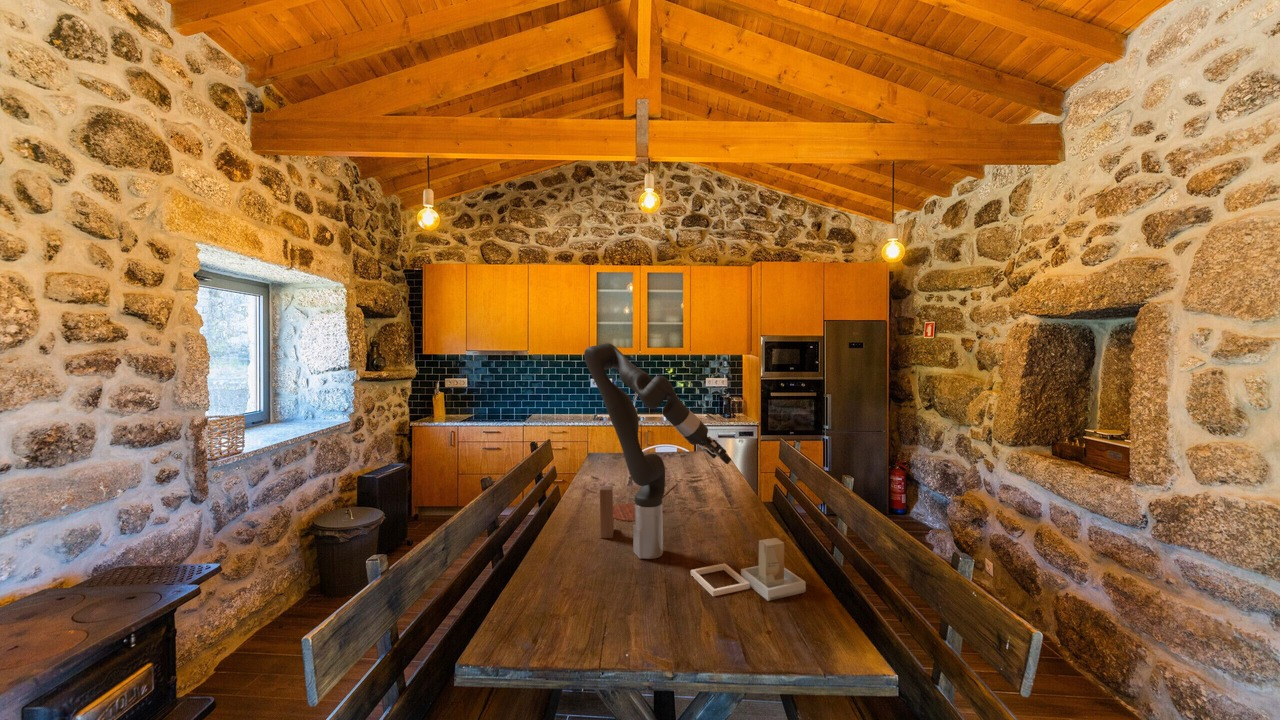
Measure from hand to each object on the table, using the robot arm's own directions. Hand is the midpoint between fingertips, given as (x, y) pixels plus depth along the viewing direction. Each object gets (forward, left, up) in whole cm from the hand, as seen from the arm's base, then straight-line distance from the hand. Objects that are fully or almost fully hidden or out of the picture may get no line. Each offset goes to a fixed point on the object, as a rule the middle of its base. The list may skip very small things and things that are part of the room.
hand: (722, 459), depth 164 cm
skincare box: (+3, -22, -32) cm, 39 cm away
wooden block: (-29, +34, -33) cm, 56 cm away
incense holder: (-8, +51, -33) cm, 62 cm away
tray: (+4, -22, -33) cm, 40 cm away
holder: (-9, -14, -33) cm, 37 cm away
